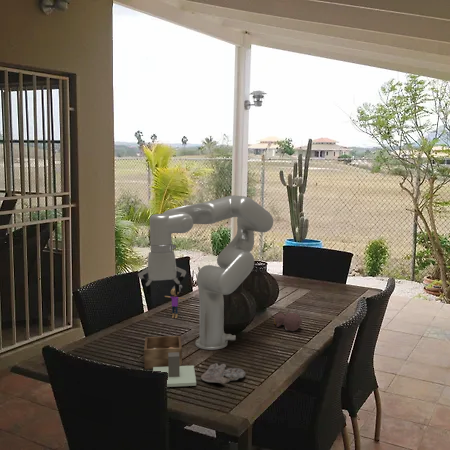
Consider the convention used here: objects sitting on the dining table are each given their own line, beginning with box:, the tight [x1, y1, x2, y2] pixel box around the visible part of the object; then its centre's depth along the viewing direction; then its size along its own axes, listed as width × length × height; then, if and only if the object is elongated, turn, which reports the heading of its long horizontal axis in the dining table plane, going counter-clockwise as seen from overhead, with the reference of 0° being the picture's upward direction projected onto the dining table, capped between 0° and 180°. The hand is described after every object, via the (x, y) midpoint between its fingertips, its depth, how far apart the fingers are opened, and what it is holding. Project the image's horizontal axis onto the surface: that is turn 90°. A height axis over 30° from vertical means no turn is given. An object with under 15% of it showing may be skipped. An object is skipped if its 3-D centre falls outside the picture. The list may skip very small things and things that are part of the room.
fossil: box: [200, 362, 246, 385], centre depth 179 cm, size 17×4×15 cm
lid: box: [152, 352, 197, 388], centre depth 176 cm, size 14×14×8 cm
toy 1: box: [164, 284, 186, 319], centre depth 243 cm, size 10×6×15 cm, turn 68°
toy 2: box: [273, 312, 303, 332], centre depth 229 cm, size 8×8×15 cm
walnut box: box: [143, 335, 183, 370], centre depth 192 cm, size 13×13×7 cm
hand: (163, 294), depth 192 cm, fingers open, 9 cm apart
